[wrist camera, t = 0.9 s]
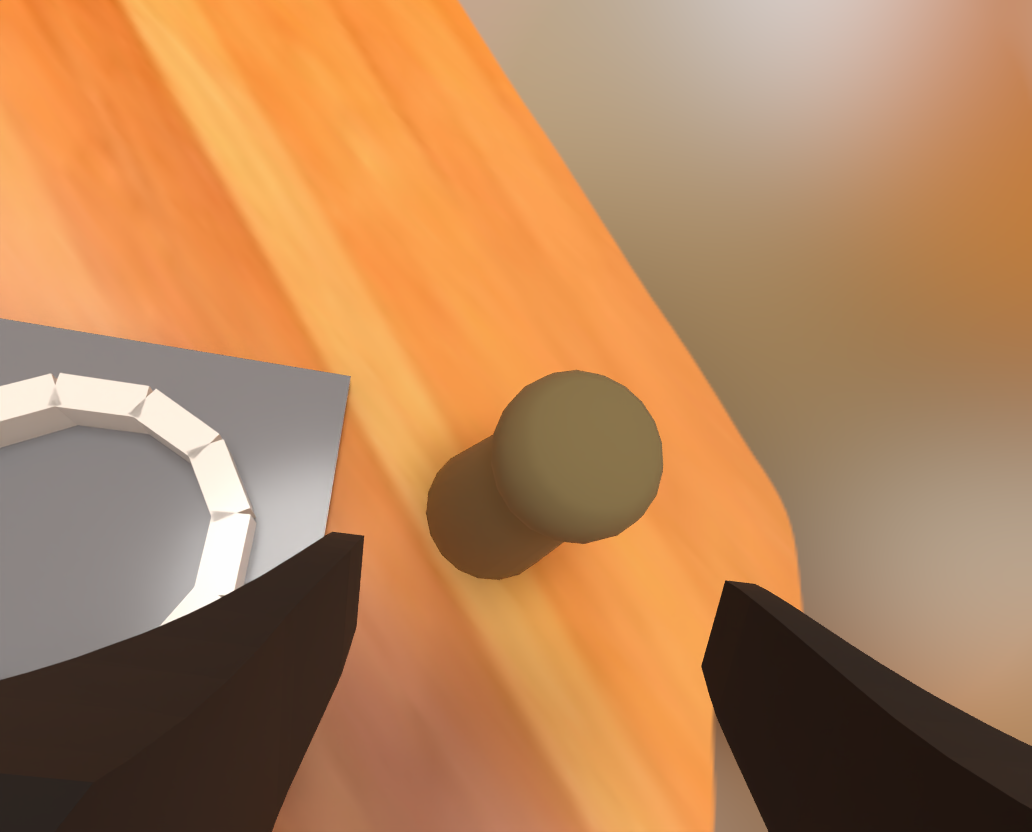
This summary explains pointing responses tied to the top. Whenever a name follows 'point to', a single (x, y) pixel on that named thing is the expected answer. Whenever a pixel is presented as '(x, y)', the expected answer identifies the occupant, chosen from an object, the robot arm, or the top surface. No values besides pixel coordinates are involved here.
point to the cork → (547, 476)
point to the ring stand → (147, 483)
